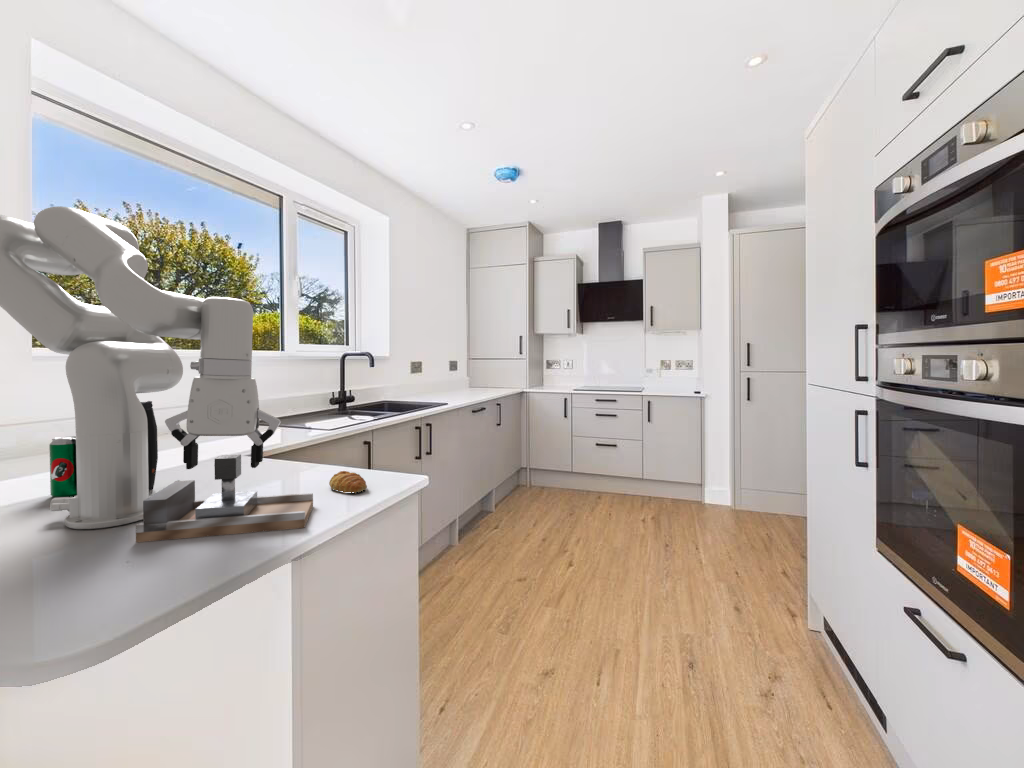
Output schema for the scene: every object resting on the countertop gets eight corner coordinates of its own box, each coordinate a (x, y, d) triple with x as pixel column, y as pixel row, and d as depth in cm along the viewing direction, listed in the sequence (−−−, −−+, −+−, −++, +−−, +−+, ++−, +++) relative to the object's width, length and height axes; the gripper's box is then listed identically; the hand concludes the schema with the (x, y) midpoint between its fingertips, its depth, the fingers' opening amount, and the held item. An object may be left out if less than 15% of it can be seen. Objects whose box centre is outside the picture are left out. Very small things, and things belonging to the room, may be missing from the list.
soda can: (88, 494, 92) (87, 437, 92) (54, 500, 88) (53, 440, 87) (81, 490, 95) (79, 435, 94) (47, 496, 90) (46, 438, 90)
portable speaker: (167, 488, 98) (166, 400, 97) (123, 500, 88) (122, 404, 88) (135, 485, 99) (134, 399, 98) (88, 497, 90) (87, 402, 89)
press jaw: (195, 523, 72) (194, 463, 72) (214, 506, 81) (214, 452, 80) (243, 519, 74) (243, 461, 74) (257, 503, 83) (257, 450, 83)
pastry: (374, 491, 99) (374, 475, 99) (346, 498, 94) (346, 480, 94) (352, 483, 105) (352, 468, 105) (325, 489, 100) (325, 473, 100)
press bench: (136, 542, 69) (135, 501, 68) (169, 516, 80) (168, 481, 80) (304, 527, 76) (304, 490, 76) (313, 506, 87) (313, 474, 87)
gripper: (157, 367, 70) (155, 473, 71) (277, 372, 76) (274, 470, 76) (176, 367, 77) (174, 462, 78) (285, 371, 83) (282, 461, 83)
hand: (224, 466), depth 77 cm, fingers open, 9 cm apart
